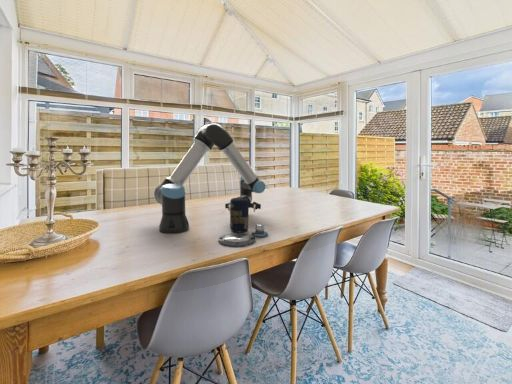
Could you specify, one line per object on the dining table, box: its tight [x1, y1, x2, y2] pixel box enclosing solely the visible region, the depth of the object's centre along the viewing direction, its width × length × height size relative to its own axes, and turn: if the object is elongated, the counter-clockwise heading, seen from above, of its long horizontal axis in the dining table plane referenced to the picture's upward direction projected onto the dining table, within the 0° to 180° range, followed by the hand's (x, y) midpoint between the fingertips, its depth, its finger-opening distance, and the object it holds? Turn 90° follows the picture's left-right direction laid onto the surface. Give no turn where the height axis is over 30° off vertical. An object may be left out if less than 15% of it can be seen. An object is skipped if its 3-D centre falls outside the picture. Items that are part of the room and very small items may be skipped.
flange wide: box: [217, 232, 256, 248], centre depth 134 cm, size 17×17×2 cm
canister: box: [229, 196, 250, 233], centre depth 149 cm, size 10×10×18 cm
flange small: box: [251, 223, 269, 239], centre depth 143 cm, size 8×8×5 cm
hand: (241, 209), depth 157 cm, fingers open, 13 cm apart
